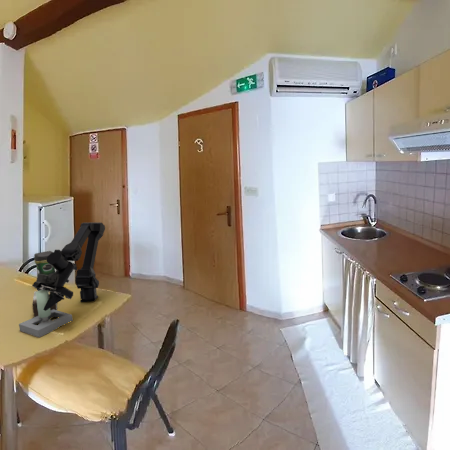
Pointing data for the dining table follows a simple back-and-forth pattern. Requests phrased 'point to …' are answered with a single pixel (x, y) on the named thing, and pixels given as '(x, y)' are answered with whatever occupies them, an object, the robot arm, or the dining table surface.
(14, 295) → the dining table surface
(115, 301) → the dining table surface
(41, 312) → the peg
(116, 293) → the dining table surface
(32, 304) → the coffee box
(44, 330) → the keyhole plate
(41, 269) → the coffee jar
